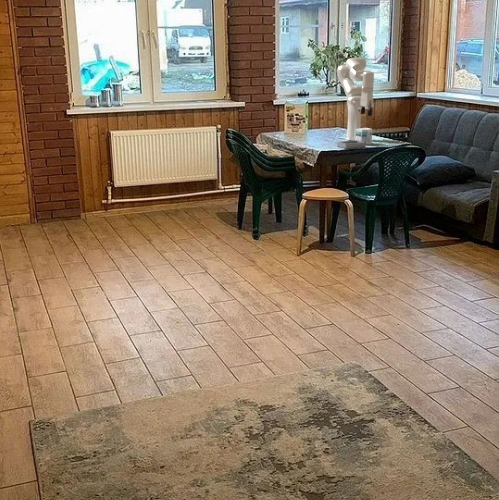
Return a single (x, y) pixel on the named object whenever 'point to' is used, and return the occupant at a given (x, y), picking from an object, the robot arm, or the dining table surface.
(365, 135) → the light bulb box
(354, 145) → the sorting tray
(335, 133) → the dining table surface
